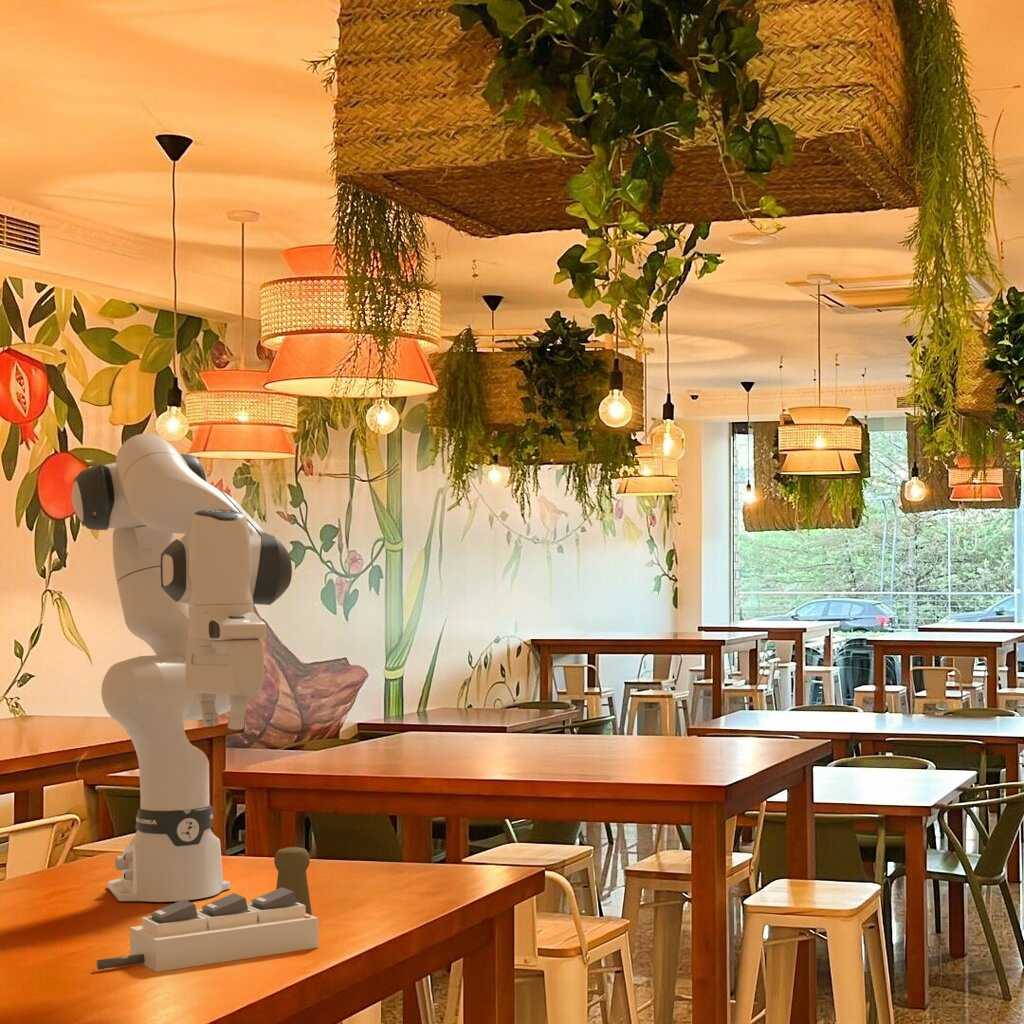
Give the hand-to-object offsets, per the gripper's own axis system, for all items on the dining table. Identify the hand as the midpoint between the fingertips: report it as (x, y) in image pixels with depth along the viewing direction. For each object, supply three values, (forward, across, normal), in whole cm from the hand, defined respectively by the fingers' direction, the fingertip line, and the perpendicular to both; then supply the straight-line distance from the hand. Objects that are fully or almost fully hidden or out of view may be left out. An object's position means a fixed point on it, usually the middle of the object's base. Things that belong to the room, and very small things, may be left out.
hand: (223, 727), depth 211 cm
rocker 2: (+24, 0, 0) cm, 24 cm away
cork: (+30, -12, +15) cm, 36 cm away
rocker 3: (+24, 0, +7) cm, 25 cm away
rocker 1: (+24, 0, -7) cm, 25 cm away
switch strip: (+30, 0, -3) cm, 30 cm away
